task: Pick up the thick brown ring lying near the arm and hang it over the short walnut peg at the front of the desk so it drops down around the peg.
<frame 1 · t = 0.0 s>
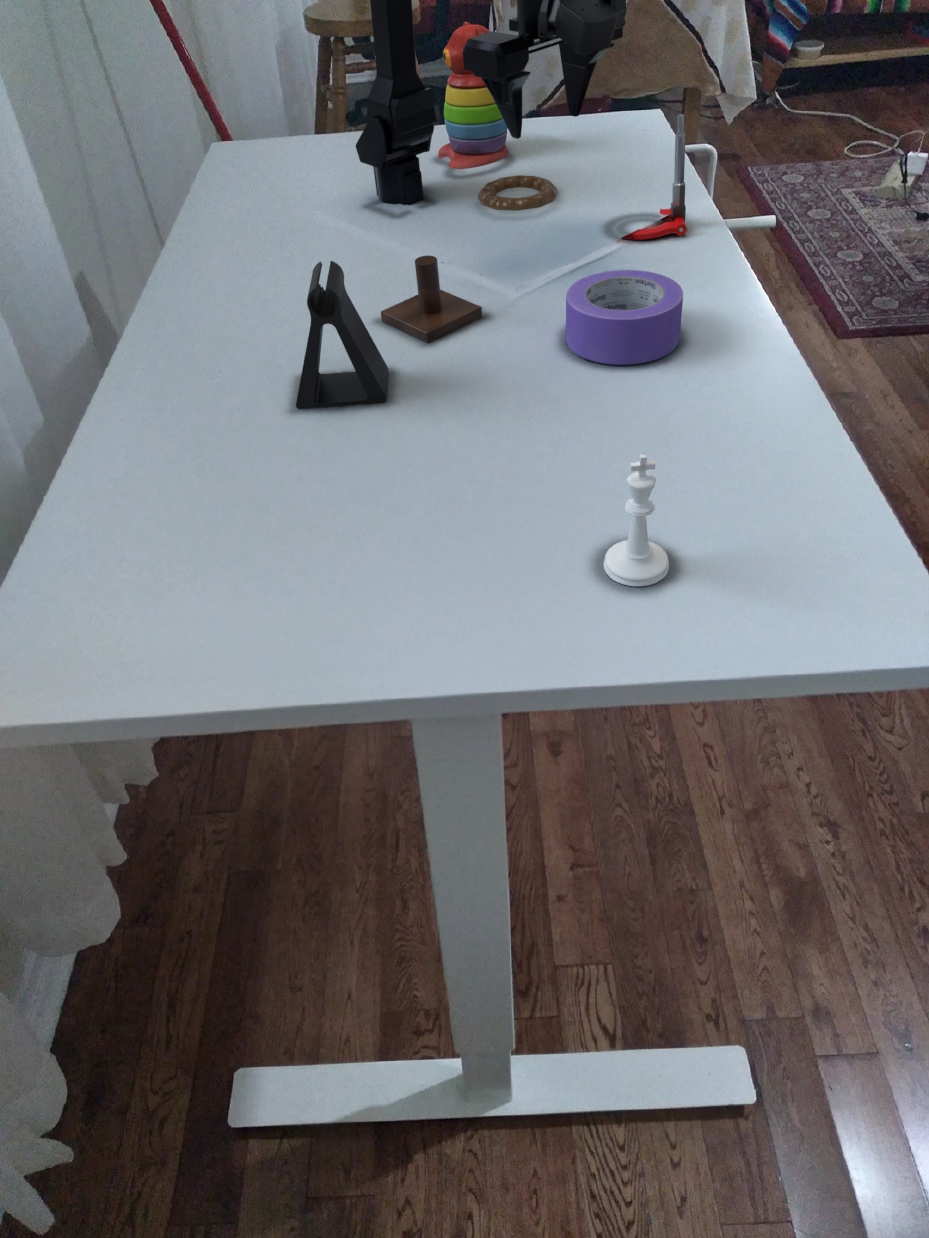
hand: (546, 126, 107), 15 cm above the table, tool pointing down, fingers open, 9 cm apart
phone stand: (344, 392, 97), on the table
stacking bear: (476, 163, 144), on the table
post: (431, 319, 107), on the table
chess piece: (635, 567, 74), on the table
tape roll: (622, 340, 101), on the table
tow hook: (646, 229, 122), on the table
ring: (517, 195, 130), point 1 cm above the table
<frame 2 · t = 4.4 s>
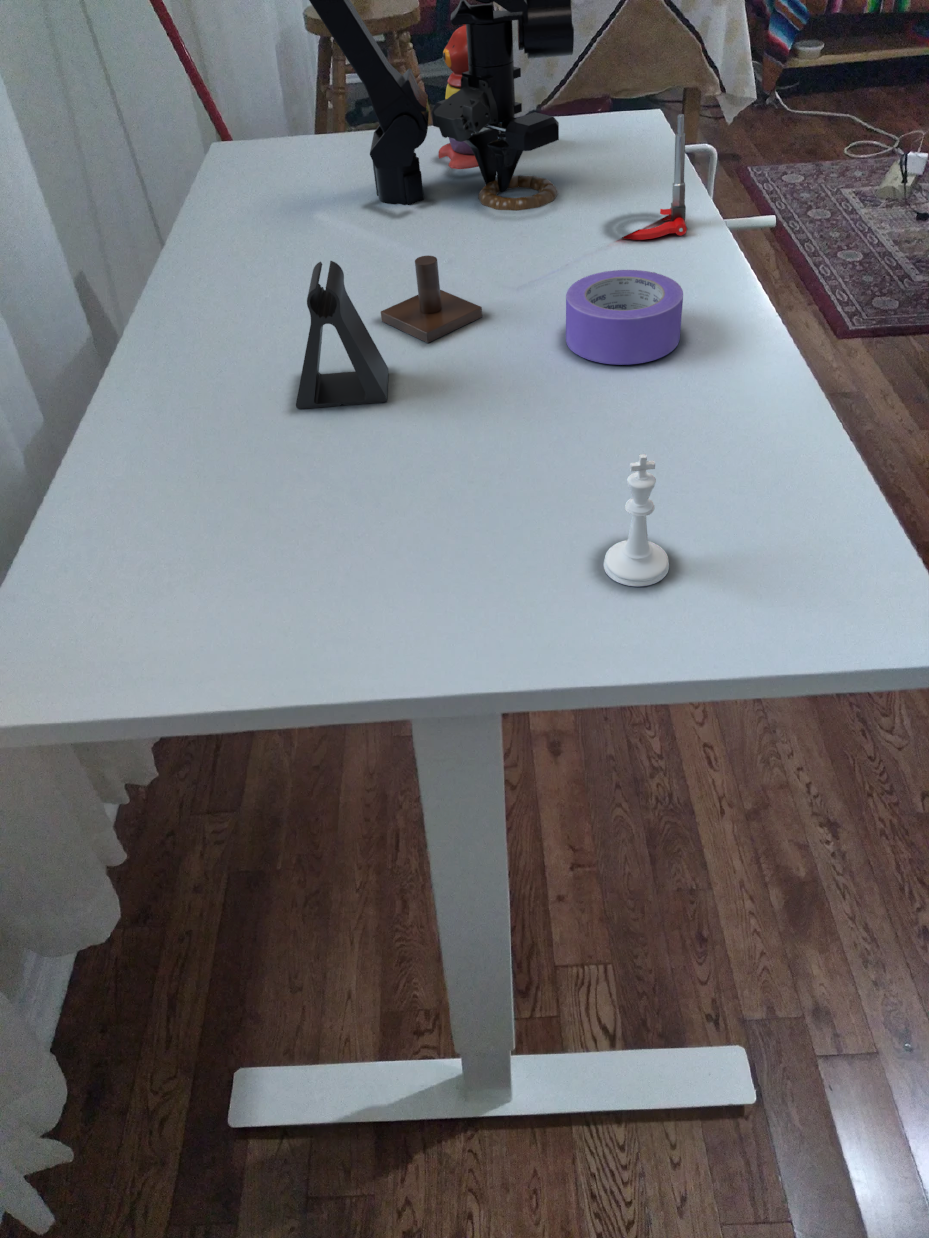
hand: (496, 189, 132), 1 cm above the table, tool pointing down, fingers closed on ring, 2 cm apart
ring: (517, 195, 130), point 1 cm above the table, touching gripper
everything else where it was.
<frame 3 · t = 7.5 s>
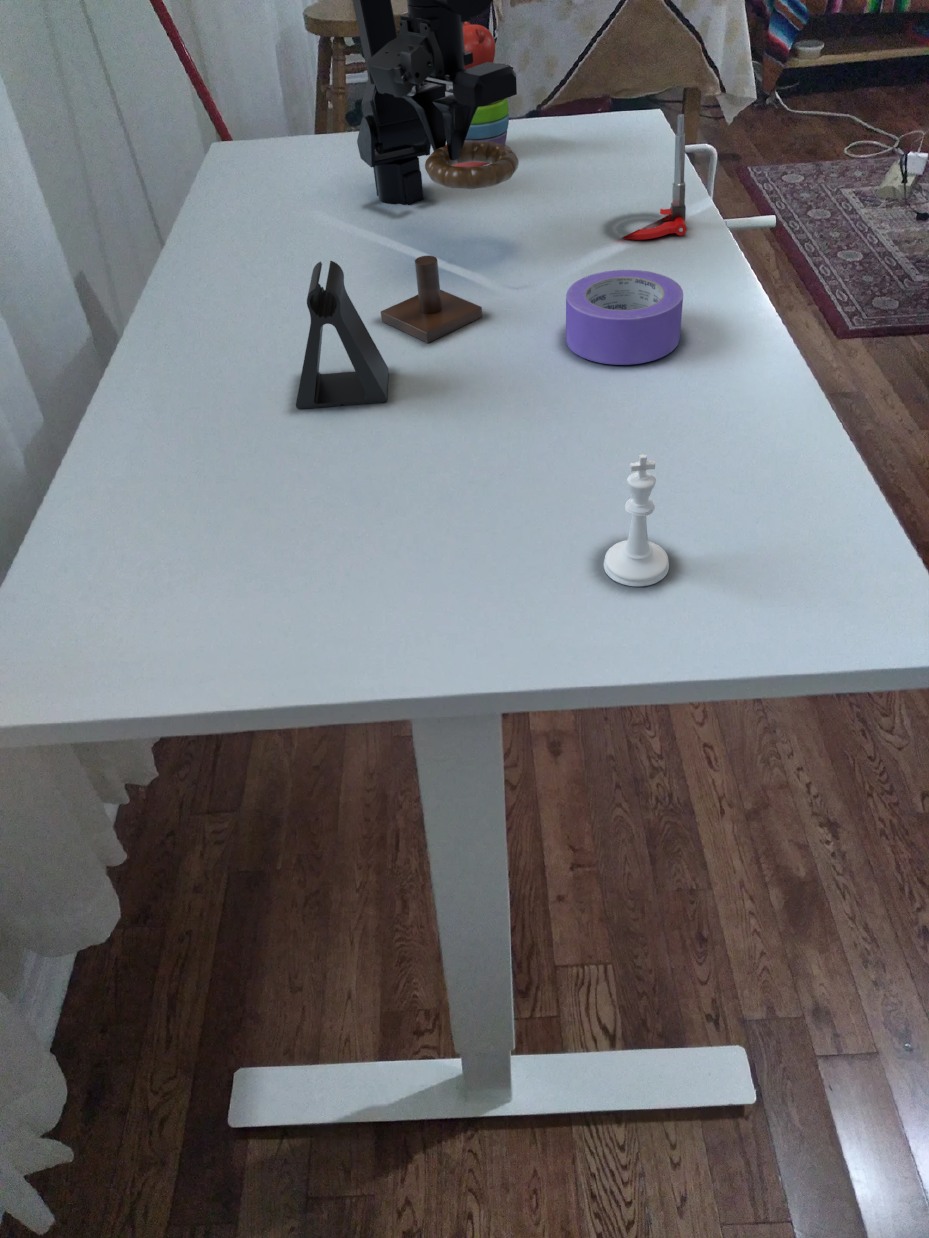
hand: (447, 157, 112), 11 cm above the table, tool pointing down, fingers closed on ring, 2 cm apart
ring: (471, 164, 110), point 11 cm above the table, touching gripper
everything else where it was.
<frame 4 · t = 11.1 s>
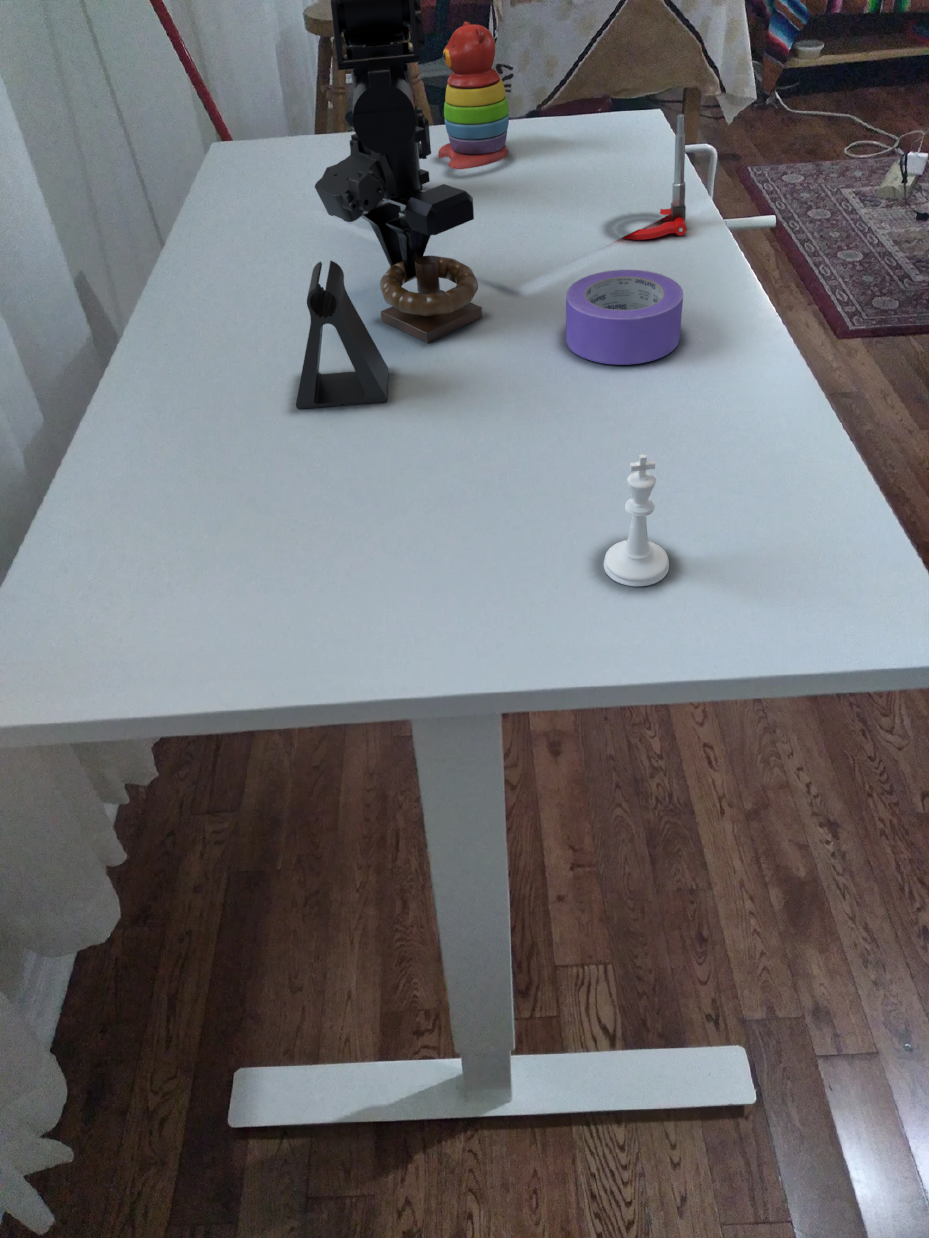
hand: (404, 273, 107), 4 cm above the table, tool pointing down, fingers closed on ring, 2 cm apart
ring: (429, 285, 105), point 4 cm above the table, tilted 6°, touching gripper
everything else where it was.
when the fingers open (7 cm above the table, at t = 16.8 s): ring drops 4 cm, resting on post.
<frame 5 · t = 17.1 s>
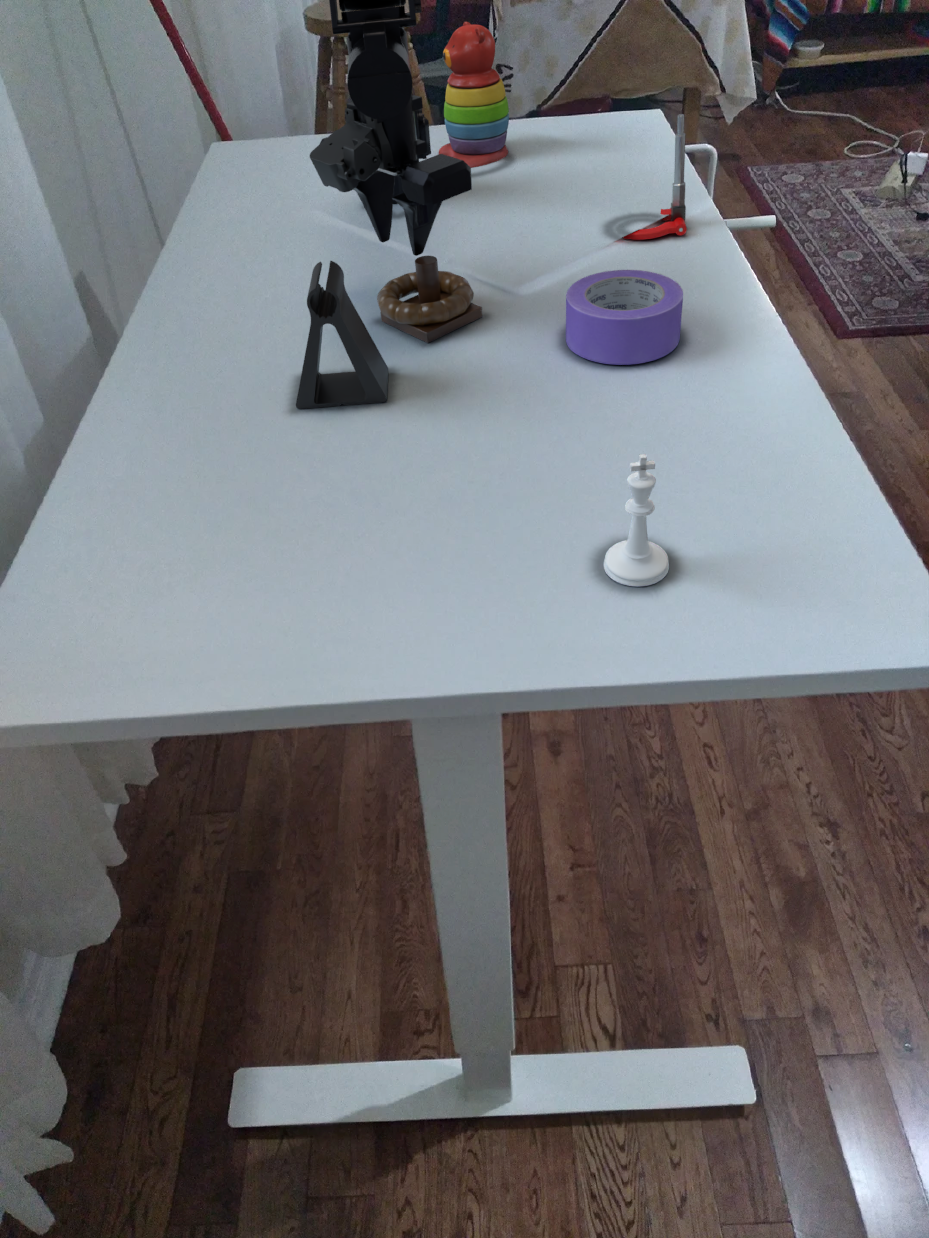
hand: (401, 247, 105), 7 cm above the table, tool pointing down, fingers open, 5 cm apart
ring: (425, 297, 106), point 2 cm above the table, touching post
everything else where it was.
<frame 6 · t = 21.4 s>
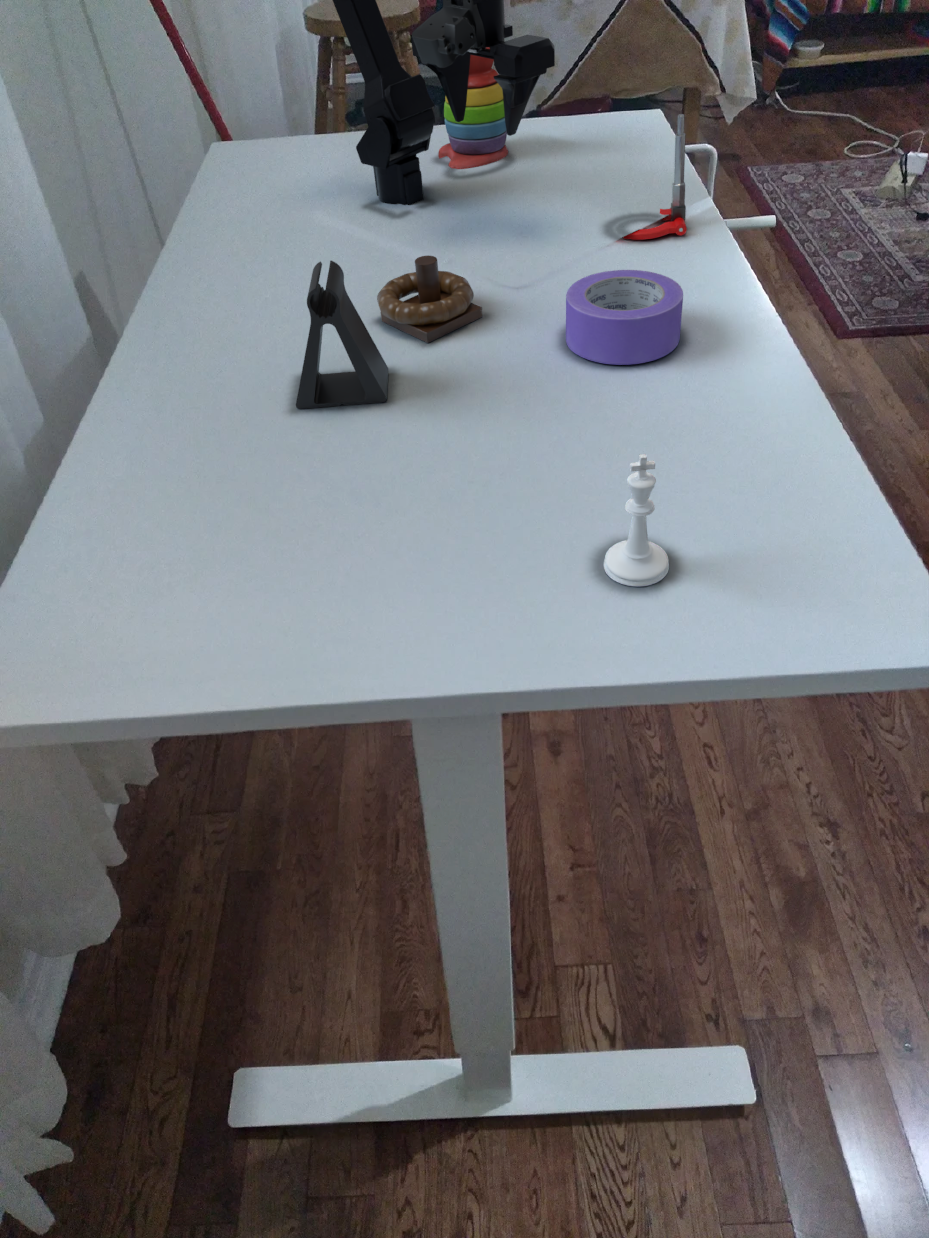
hand: (485, 128, 117), 12 cm above the table, tool pointing down, fingers open, 9 cm apart
nothing on the table moved.
at the end: ring 0.9 cm from the post (horizontally); ring point 2.3 cm above the table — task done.
